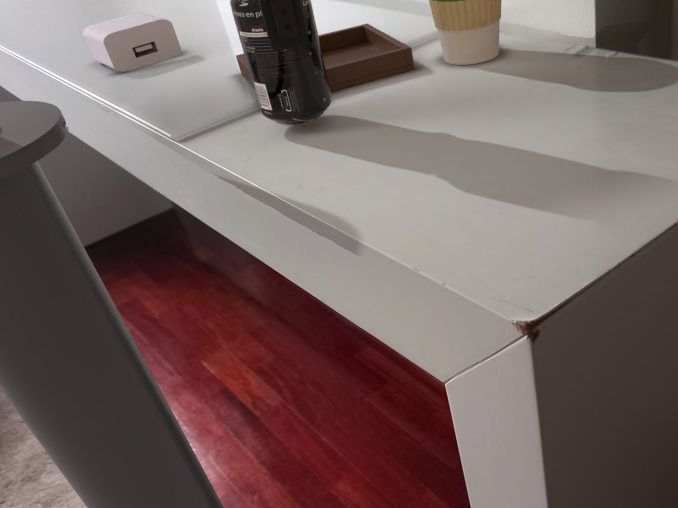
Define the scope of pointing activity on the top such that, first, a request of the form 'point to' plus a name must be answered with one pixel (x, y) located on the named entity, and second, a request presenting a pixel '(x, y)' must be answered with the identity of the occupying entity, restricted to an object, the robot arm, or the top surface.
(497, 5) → the coffee cup
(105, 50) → the charger
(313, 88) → the beverage can
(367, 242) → the top surface
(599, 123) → the top surface
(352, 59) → the holder
